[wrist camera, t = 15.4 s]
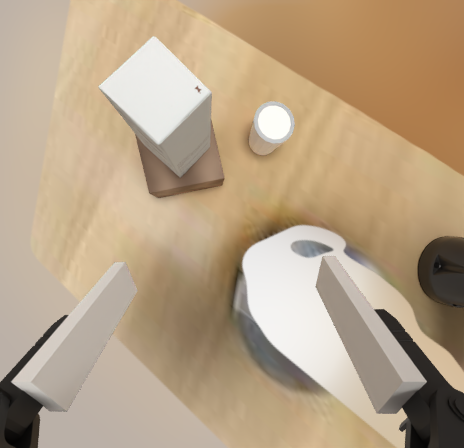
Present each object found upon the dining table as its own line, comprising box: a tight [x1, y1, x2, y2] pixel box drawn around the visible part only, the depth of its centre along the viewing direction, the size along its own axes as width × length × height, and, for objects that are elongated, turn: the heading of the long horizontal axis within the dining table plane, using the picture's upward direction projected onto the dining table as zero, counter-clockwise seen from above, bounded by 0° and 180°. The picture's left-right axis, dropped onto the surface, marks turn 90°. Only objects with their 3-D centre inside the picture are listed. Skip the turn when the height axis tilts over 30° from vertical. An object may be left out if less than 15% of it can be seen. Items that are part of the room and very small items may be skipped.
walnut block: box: [135, 121, 224, 198], centre depth 32 cm, size 12×12×6 cm
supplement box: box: [99, 36, 212, 177], centre depth 23 cm, size 7×7×13 cm
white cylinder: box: [249, 101, 295, 155], centre depth 33 cm, size 7×7×7 cm
